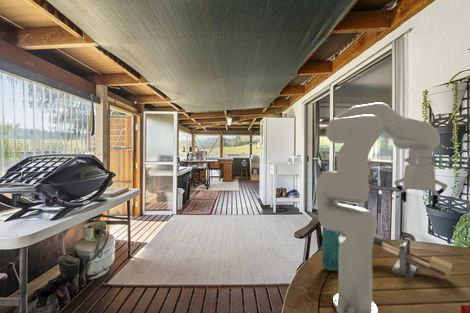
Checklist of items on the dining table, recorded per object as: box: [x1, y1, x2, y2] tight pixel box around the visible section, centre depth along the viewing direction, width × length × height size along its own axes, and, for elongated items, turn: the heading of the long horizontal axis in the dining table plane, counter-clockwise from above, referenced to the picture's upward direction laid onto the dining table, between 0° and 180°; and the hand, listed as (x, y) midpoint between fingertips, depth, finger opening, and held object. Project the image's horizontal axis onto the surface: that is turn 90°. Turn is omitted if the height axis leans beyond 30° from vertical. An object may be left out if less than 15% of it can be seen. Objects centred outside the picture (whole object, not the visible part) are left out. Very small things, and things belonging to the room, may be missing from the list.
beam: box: [373, 233, 446, 280], centre depth 101 cm, size 7×28×5 cm, turn 46°
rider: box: [429, 255, 453, 277], centre depth 93 cm, size 5×6×4 cm
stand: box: [391, 237, 418, 279], centre depth 100 cm, size 13×7×11 cm, turn 136°
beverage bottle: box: [321, 228, 340, 271], centre depth 100 cm, size 6×7×20 cm
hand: (419, 203), depth 99 cm, fingers open, 9 cm apart
